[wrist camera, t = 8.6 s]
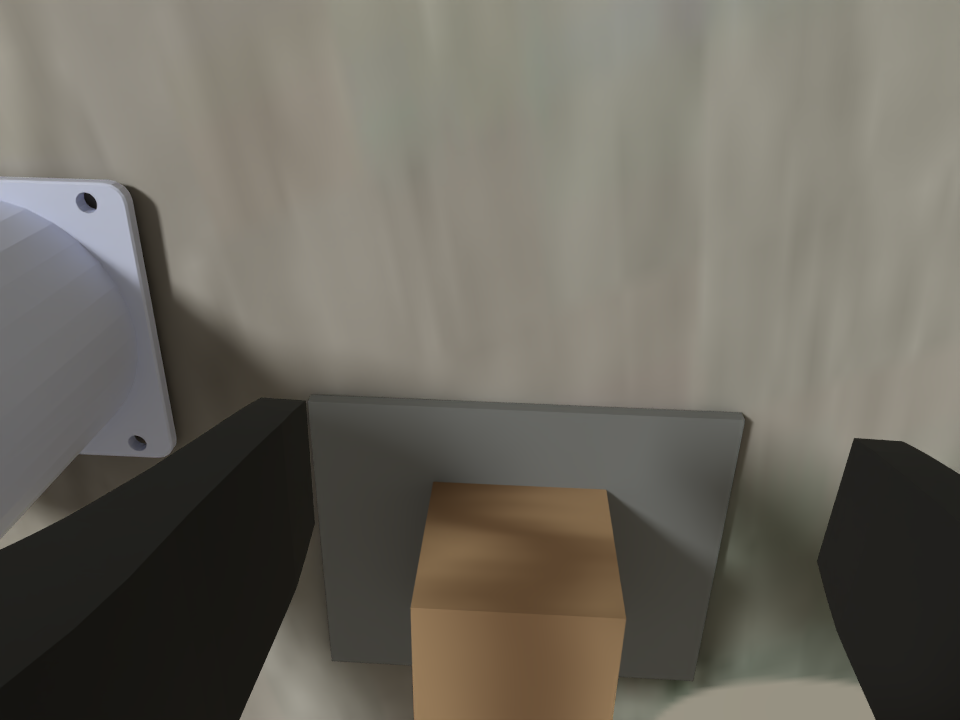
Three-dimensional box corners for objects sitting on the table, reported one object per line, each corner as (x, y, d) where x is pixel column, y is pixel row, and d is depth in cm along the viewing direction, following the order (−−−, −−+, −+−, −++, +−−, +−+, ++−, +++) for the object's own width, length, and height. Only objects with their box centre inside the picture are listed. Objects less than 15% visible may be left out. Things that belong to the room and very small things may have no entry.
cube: (434, 610, 25) (415, 750, 20) (433, 481, 23) (410, 607, 18) (592, 618, 25) (606, 762, 20) (606, 489, 22) (626, 618, 18)
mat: (334, 651, 27) (331, 661, 26) (311, 394, 22) (307, 401, 22) (690, 671, 26) (693, 680, 26) (741, 412, 22) (745, 420, 21)
